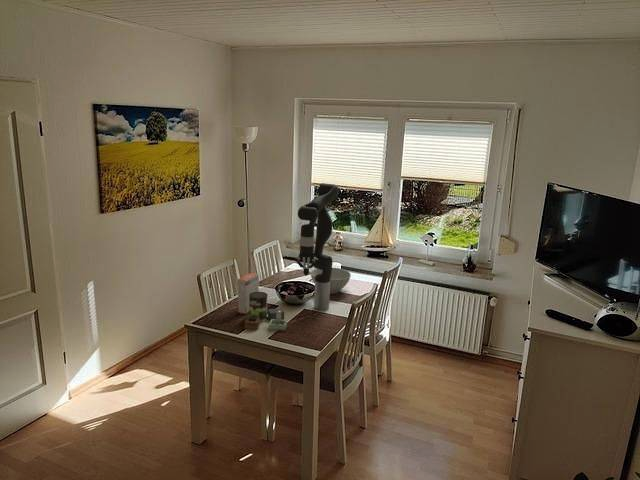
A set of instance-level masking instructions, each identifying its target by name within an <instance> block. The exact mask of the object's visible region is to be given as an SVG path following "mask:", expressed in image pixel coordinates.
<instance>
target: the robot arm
mask: <svg viewBox="0 0 640 480" xmlns="http://www.w3.org/2000/svg"><path fill="white" fill-rule="evenodd" d="M339 191H340V189H339V186H338V185H337V184H334V183H324V182H322V183H320V185H319V187H318V194H317V195H318V196H317V197H315V198H313V199H312V200H311V201H310V202H308V203H306V204H304V205H301V207H300V206H299V208H298V210H297V217H298V219H300V220H302V221H309V222H308V223H305V224H302V225H301V226H300V237H299V239H300V240H299V254H298V256H297V257H295V258H294V261H295V262H296V263H297V264H298V266H299V268H302V269H303V275H304V276H308V275H309V274H310V269H313V268H314V269H320V270H322V274H317V275H316V276H315V284H314V297H313V299H314V301H313V307H314V309H316V310H319V311H325V310H328V309H329V308H330V295H331V294H330V278H331V274H332V268H333V257H332V256H330V255H328V254H323V253H324V251H323V250H324V246H325V244H326V243H327V241H328V240H329V239H330V237H331V236H332V234H333V220H332V217H331V215H330V213H329V211H328V208H327V205H328V204H331V203H332V202H334V201H335V200H337V198H338V197H339V194H340V193H339ZM315 226H316V230H315ZM315 231H316V234H315ZM310 263H311V264H310Z"/></svg>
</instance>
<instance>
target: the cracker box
mask: <svg viewBox="0 0 640 480" xmlns="http://www.w3.org/2000/svg"><path fill="white" fill-rule="evenodd" d="M259 278H260V277H259V273H254V272H250V273H247V274H246V275H244V276H241V277H239V278H237V306H238V307H237V309H238V313H239V314H244V315H248V314H249V294H250V293H253V292H260V290H259V285H260V284H259V281H260V280H259Z"/></svg>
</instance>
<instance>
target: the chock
mask: <svg viewBox="0 0 640 480" xmlns="http://www.w3.org/2000/svg"><path fill="white" fill-rule="evenodd" d="M277 310H281V320H285V311H284V309H283V308H282V307H279V308H270V309H268V308H267V318H268V319H269V321H271V319H275V320H276V311H277Z"/></svg>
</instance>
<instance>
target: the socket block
mask: <svg viewBox="0 0 640 480" xmlns="http://www.w3.org/2000/svg"><path fill="white" fill-rule="evenodd" d="M260 325H261V321H260V318H257V317H249V316H247V317H246V319H245V321H244V330H254V331H255V330H256V331H258V329H259V328H260Z"/></svg>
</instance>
